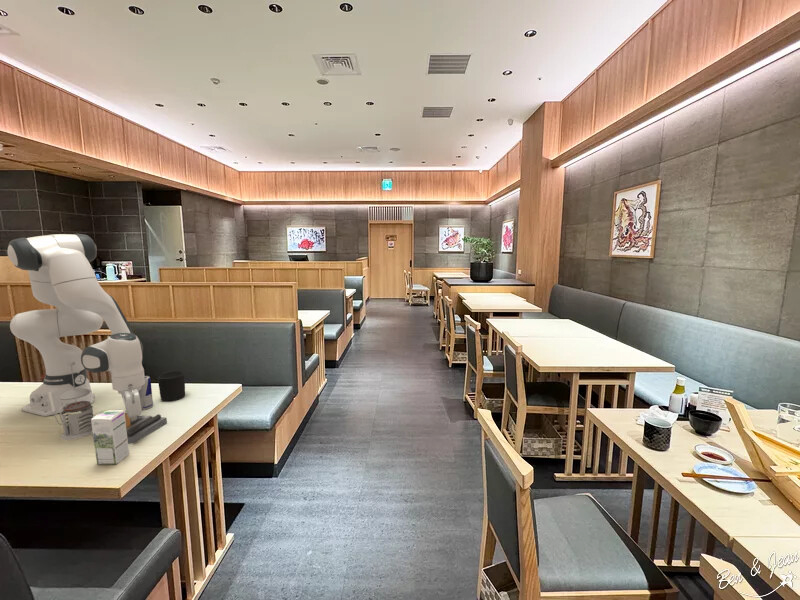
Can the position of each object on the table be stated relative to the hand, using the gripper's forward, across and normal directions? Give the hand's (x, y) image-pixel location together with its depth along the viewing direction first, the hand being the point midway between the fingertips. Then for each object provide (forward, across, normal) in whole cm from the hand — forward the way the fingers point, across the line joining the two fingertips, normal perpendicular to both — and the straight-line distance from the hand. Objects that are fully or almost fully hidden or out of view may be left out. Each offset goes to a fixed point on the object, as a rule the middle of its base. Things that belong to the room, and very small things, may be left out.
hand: (133, 419), depth 123 cm
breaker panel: (+4, 0, 0) cm, 4 cm away
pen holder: (+4, +23, -15) cm, 28 cm away
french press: (+4, +11, +15) cm, 19 cm away
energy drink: (+4, +20, -5) cm, 21 cm away
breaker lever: (+2, -2, +3) cm, 4 cm away
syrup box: (+4, -16, +7) cm, 18 cm away
